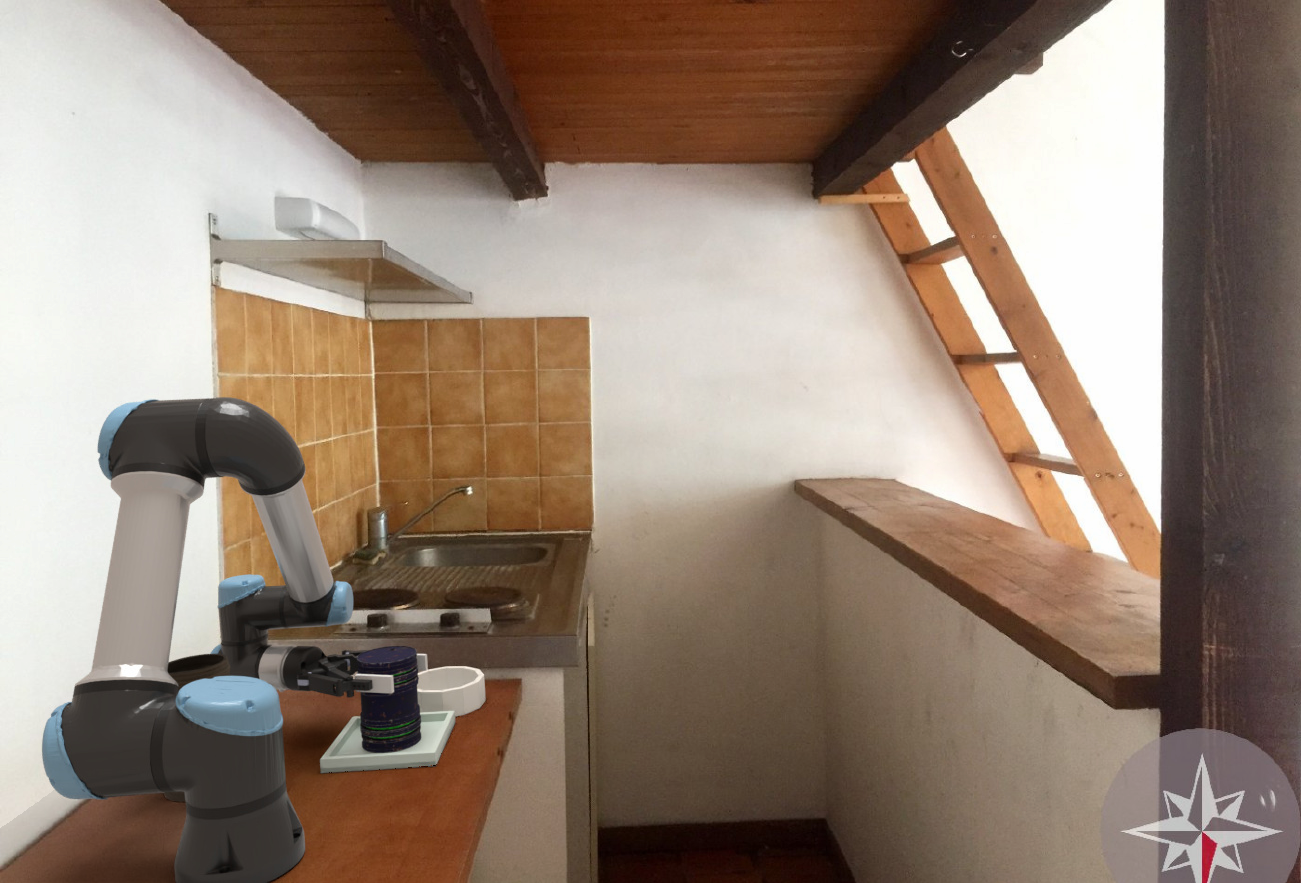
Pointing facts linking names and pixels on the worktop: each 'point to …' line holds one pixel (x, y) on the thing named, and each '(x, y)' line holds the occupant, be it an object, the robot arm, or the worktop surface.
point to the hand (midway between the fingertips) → (410, 673)
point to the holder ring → (451, 689)
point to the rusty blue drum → (390, 700)
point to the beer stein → (192, 671)
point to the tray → (425, 753)
